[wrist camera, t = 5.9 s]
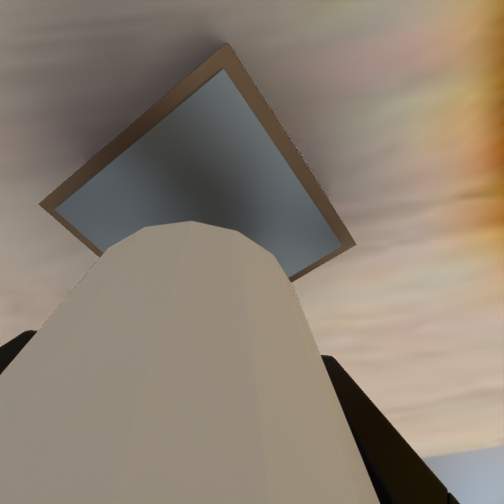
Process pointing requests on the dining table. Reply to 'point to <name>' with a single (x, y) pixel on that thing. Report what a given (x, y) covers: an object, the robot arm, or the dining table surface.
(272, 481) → the shot glass
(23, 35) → the dining table surface
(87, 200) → the walnut plinth
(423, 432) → the dining table surface
